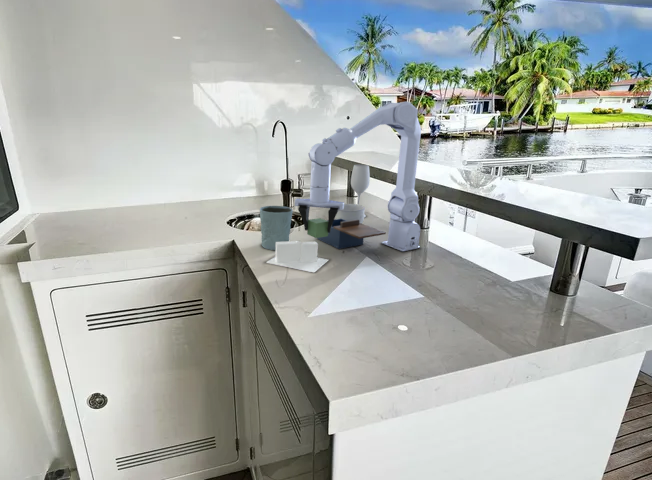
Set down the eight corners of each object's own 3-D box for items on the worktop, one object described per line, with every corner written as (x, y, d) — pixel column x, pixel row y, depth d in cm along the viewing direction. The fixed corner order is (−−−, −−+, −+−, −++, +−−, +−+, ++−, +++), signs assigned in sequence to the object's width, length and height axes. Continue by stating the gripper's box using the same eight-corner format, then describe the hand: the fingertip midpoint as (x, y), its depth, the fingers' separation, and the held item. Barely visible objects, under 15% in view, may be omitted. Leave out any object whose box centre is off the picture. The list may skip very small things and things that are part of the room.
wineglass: (367, 218, 157) (372, 166, 150) (349, 217, 157) (353, 166, 150) (364, 213, 164) (369, 164, 158) (347, 213, 165) (350, 164, 158)
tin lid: (385, 234, 115) (386, 227, 114) (359, 238, 110) (359, 231, 109) (358, 224, 125) (359, 217, 124) (333, 228, 120) (333, 221, 119)
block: (328, 236, 115) (328, 221, 114) (315, 238, 113) (316, 223, 111) (319, 232, 119) (320, 218, 117) (307, 234, 117) (307, 219, 115)
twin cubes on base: (265, 262, 107) (265, 243, 105) (283, 251, 116) (283, 233, 114) (314, 272, 101) (315, 252, 99) (329, 259, 110) (330, 240, 108)
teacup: (365, 231, 139) (367, 210, 136) (335, 230, 139) (337, 209, 136) (359, 221, 152) (361, 202, 149) (332, 220, 152) (333, 201, 149)
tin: (362, 244, 124) (364, 226, 122) (338, 249, 119) (340, 230, 117) (340, 234, 134) (341, 218, 132) (316, 238, 129) (317, 221, 127)
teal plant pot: (253, 245, 121) (253, 208, 117) (275, 238, 128) (276, 203, 124) (276, 253, 114) (276, 214, 110) (298, 245, 122) (299, 209, 118)
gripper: (346, 185, 113) (343, 229, 117) (299, 182, 116) (298, 225, 121) (343, 189, 106) (340, 235, 111) (293, 186, 110) (292, 231, 114)
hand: (317, 230), depth 115 cm, fingers closed on block, 6 cm apart
